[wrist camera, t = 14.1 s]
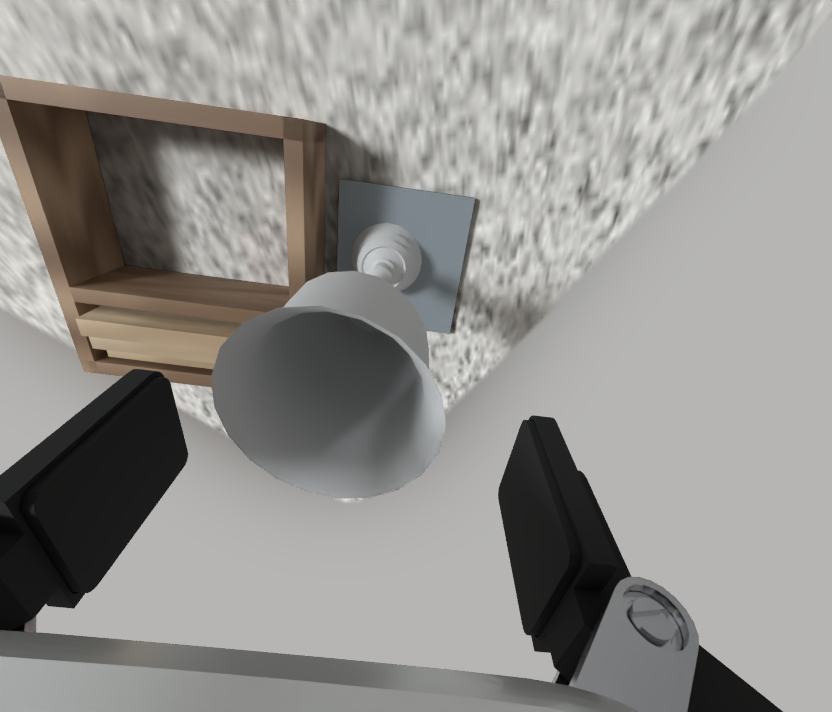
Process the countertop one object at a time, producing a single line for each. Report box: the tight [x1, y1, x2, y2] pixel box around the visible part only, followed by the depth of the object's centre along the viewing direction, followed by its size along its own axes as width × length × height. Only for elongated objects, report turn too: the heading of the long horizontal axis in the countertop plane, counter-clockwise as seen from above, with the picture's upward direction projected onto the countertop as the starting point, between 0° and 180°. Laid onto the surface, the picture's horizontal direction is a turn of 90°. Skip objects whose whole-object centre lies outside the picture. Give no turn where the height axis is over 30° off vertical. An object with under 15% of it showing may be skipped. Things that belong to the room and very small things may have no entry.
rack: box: [0, 75, 326, 387], centre depth 25 cm, size 18×16×5 cm
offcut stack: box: [75, 305, 242, 369], centre depth 28 cm, size 4×12×6 cm, turn 83°
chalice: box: [211, 223, 446, 498], centre depth 19 cm, size 7×7×18 cm
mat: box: [337, 179, 475, 334], centre depth 27 cm, size 10×9×1 cm
